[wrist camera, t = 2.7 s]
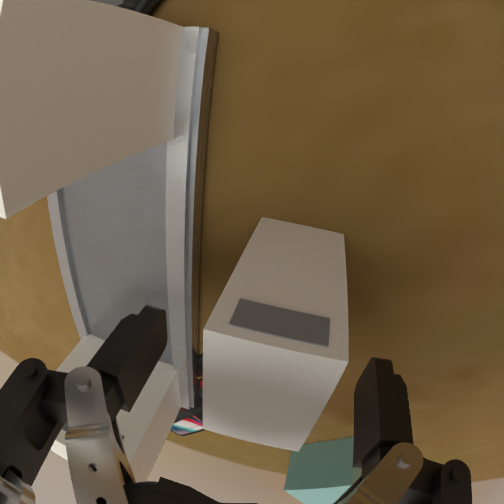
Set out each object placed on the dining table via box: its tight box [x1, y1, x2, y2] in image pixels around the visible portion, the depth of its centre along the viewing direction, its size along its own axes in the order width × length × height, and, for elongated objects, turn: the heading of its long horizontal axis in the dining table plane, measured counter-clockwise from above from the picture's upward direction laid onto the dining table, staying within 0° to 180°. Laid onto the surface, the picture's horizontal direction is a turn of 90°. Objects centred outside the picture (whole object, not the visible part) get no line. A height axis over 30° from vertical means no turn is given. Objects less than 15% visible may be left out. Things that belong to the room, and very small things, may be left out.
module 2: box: [50, 334, 181, 483], centre depth 18 cm, size 8×5×9 cm, turn 83°
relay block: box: [284, 437, 362, 504], centre depth 23 cm, size 5×6×7 cm
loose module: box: [203, 217, 349, 452], centre depth 13 cm, size 4×6×8 cm
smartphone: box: [171, 353, 205, 436], centre depth 24 cm, size 7×1×15 cm
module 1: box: [0, 0, 183, 219], centre depth 8 cm, size 8×5×9 cm, turn 83°
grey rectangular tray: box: [47, 27, 218, 409], centre depth 18 cm, size 10×25×2 cm, turn 173°
